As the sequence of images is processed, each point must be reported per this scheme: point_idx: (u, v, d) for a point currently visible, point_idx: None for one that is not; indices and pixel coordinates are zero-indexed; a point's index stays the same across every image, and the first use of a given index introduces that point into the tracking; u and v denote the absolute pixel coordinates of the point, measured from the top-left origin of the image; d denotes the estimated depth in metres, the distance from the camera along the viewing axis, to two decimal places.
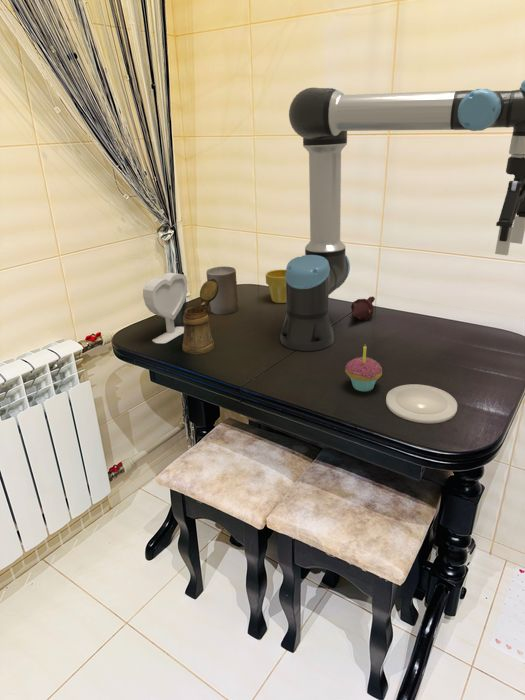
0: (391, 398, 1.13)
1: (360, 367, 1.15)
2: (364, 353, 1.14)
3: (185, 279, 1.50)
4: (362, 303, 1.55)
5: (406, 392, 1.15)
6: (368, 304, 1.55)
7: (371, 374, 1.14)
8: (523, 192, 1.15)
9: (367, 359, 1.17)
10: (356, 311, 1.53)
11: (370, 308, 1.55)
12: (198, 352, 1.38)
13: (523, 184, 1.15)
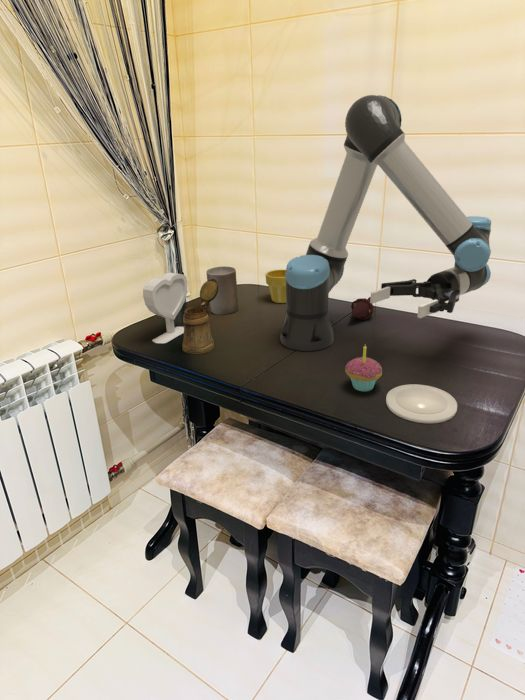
0: (391, 398, 1.13)
1: (360, 367, 1.15)
2: (364, 353, 1.14)
3: (185, 279, 1.50)
4: (362, 303, 1.56)
5: (406, 392, 1.15)
6: (368, 304, 1.56)
7: (371, 374, 1.14)
8: None
9: (367, 359, 1.17)
10: (356, 311, 1.53)
11: (370, 308, 1.56)
12: (198, 352, 1.38)
13: None
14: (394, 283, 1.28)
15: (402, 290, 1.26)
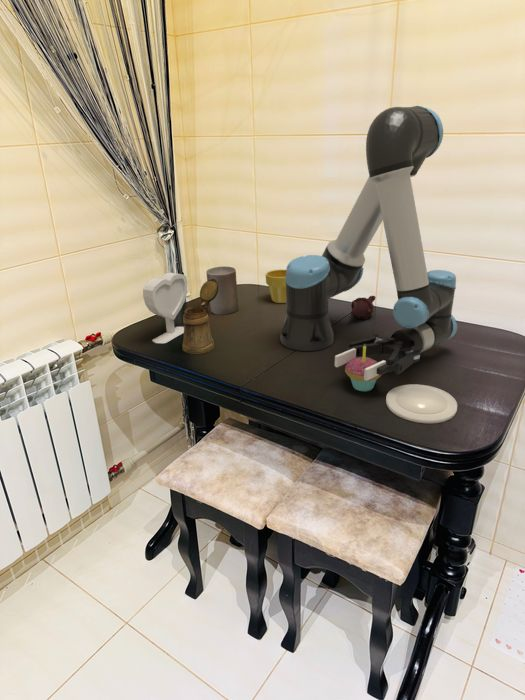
0: (391, 398, 1.13)
1: (360, 367, 1.15)
2: (364, 353, 1.14)
3: (185, 279, 1.50)
4: (362, 302, 1.56)
5: (406, 392, 1.15)
6: (368, 303, 1.56)
7: None
8: (399, 358, 1.22)
9: (367, 359, 1.17)
10: (355, 310, 1.54)
11: (370, 307, 1.56)
12: (198, 352, 1.38)
13: None
14: (360, 342, 1.24)
15: (368, 350, 1.23)
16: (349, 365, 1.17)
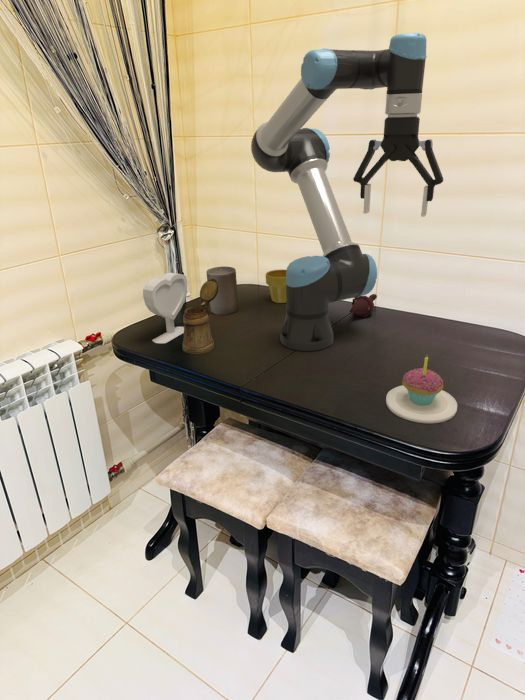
0: (391, 398, 1.13)
1: (420, 380, 1.06)
2: (425, 365, 1.06)
3: (185, 279, 1.50)
4: (362, 300, 1.58)
5: (406, 392, 1.15)
6: (368, 301, 1.58)
7: (432, 388, 1.06)
8: None
9: (427, 371, 1.09)
10: (354, 307, 1.55)
11: (369, 305, 1.58)
12: (198, 352, 1.38)
13: (385, 144, 1.14)
14: None
15: None
16: (408, 377, 1.08)
